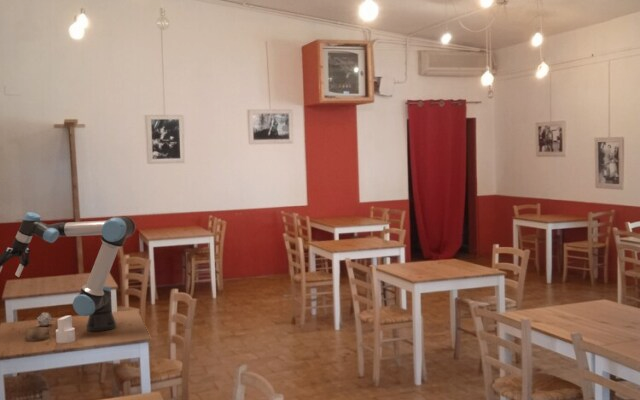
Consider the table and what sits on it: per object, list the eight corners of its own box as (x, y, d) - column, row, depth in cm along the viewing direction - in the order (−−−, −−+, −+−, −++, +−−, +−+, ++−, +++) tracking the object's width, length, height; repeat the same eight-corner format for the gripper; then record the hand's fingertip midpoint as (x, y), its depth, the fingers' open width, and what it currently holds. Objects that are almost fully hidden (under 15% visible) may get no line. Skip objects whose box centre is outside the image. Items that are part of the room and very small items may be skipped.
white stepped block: (62, 338, 345) (60, 315, 344) (78, 338, 344) (77, 315, 343) (52, 343, 336) (51, 319, 335) (69, 343, 335) (68, 319, 334)
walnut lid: (50, 335, 353) (49, 326, 353) (48, 340, 342) (48, 330, 342) (27, 338, 350) (27, 328, 349) (25, 343, 339) (24, 333, 339)
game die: (49, 332, 376) (59, 317, 377) (38, 330, 369) (49, 315, 369) (39, 323, 380) (50, 308, 381) (29, 321, 372) (40, 305, 373)
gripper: (36, 237, 366) (21, 272, 368) (-2, 235, 344) (-18, 272, 346) (45, 244, 363) (29, 279, 365) (7, 242, 341) (-9, 279, 343)
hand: (6, 276), depth 356 cm, fingers open, 13 cm apart
